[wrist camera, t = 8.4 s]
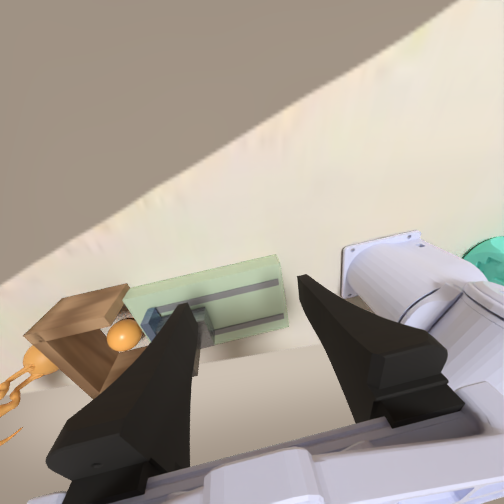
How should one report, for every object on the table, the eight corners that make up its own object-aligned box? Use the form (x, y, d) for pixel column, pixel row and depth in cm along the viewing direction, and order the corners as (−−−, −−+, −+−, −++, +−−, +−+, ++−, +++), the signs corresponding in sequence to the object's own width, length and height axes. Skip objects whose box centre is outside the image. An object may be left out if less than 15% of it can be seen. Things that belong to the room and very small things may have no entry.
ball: (116, 313, 25) (140, 312, 24) (129, 332, 26) (152, 332, 26) (92, 337, 22) (119, 338, 21) (109, 357, 23) (134, 358, 23)
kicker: (201, 296, 22) (195, 339, 17) (218, 339, 25) (217, 385, 20) (147, 309, 21) (125, 356, 17) (172, 350, 25) (160, 399, 20)
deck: (275, 254, 23) (280, 264, 21) (284, 315, 28) (289, 328, 26) (129, 288, 23) (121, 301, 21) (164, 344, 28) (160, 359, 26)
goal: (126, 283, 22) (103, 316, 18) (166, 347, 28) (156, 385, 24) (61, 298, 22) (22, 335, 18) (114, 360, 28) (94, 400, 23)
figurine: (93, 358, 27) (12, 494, 17) (45, 366, 27) (-69, 511, 16) (59, 313, 23) (-76, 453, 13) (3, 322, 23) (-186, 475, 12)
